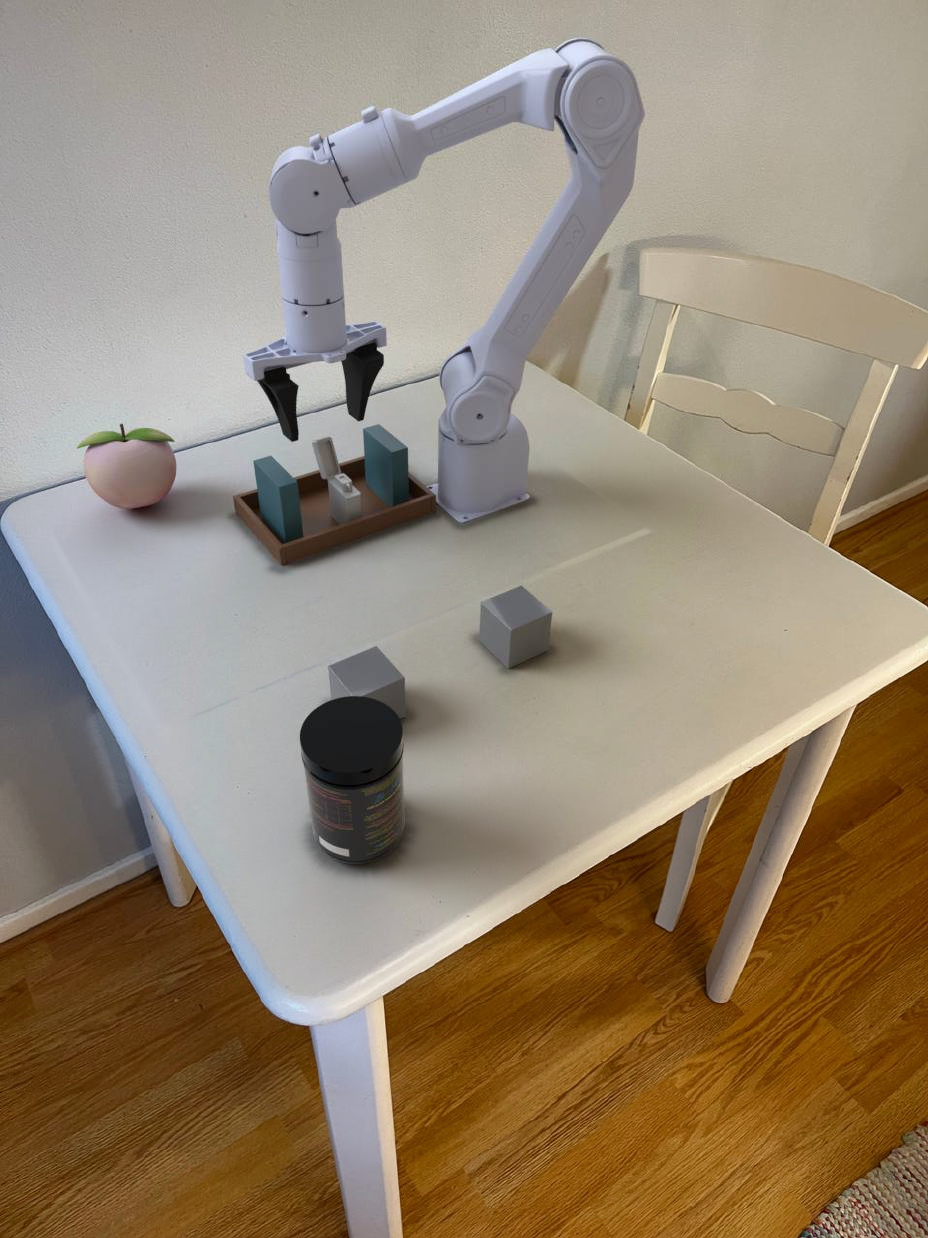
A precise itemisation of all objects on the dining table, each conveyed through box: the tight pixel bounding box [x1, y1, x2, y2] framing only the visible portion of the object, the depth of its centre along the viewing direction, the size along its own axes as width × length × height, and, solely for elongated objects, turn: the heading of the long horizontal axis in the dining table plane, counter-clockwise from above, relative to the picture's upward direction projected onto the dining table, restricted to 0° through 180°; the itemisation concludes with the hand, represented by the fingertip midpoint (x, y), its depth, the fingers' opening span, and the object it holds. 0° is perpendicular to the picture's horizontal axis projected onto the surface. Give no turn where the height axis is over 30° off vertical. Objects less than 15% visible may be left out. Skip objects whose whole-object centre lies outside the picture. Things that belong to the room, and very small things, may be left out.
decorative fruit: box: [76, 423, 177, 510], centre depth 93 cm, size 9×8×10 cm
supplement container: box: [299, 696, 406, 865], centre depth 62 cm, size 7×7×10 cm
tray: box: [232, 455, 437, 567], centre depth 95 cm, size 18×11×2 cm, turn 124°
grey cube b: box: [327, 645, 407, 720], centre depth 73 cm, size 4×4×4 cm
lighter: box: [311, 436, 362, 525], centre depth 93 cm, size 7×2×8 cm, turn 35°
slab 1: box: [253, 455, 303, 544], centre depth 91 cm, size 2×6×7 cm, turn 34°
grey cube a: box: [478, 585, 553, 669], centre depth 80 cm, size 4×4×4 cm
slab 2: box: [362, 423, 409, 507], centre depth 96 cm, size 2×6×7 cm, turn 34°
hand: (324, 426), depth 92 cm, fingers open, 7 cm apart
